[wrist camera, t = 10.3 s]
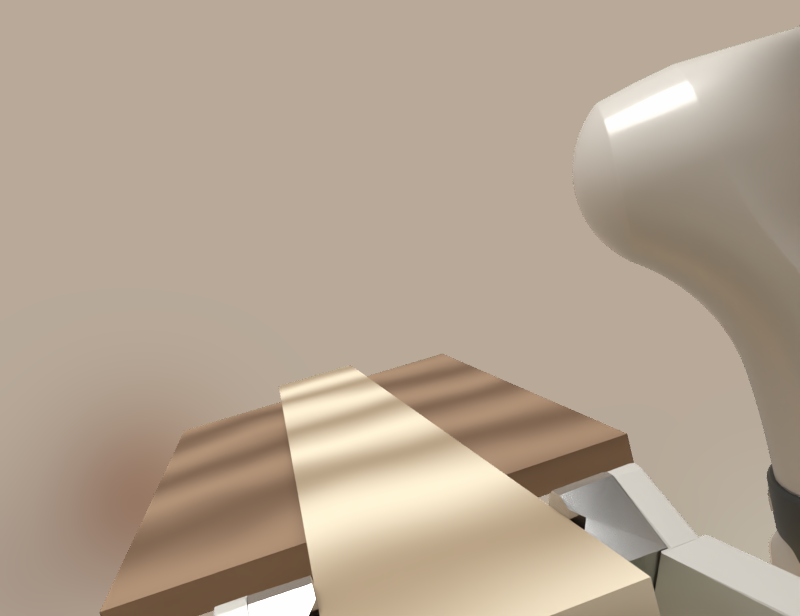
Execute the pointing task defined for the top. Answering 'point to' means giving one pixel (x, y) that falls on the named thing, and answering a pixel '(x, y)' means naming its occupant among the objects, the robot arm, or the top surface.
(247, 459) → the walnut stand
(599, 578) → the birch slat
